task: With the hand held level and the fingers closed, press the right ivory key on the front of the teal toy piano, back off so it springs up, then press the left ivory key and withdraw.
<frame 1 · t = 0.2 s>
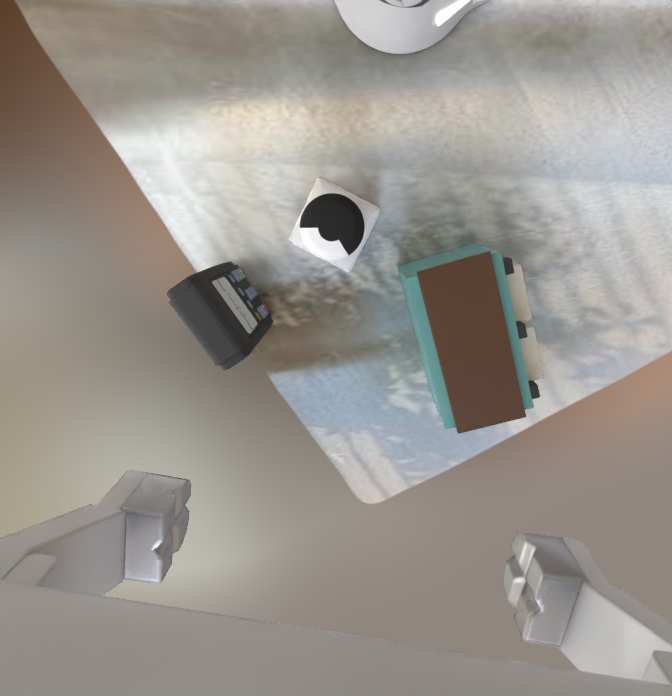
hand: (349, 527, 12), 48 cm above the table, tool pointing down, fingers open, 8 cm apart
medicine bottle: (337, 223, 57), on the table
card reader: (245, 297, 60), on the table
toy piano: (450, 319, 59), on the table
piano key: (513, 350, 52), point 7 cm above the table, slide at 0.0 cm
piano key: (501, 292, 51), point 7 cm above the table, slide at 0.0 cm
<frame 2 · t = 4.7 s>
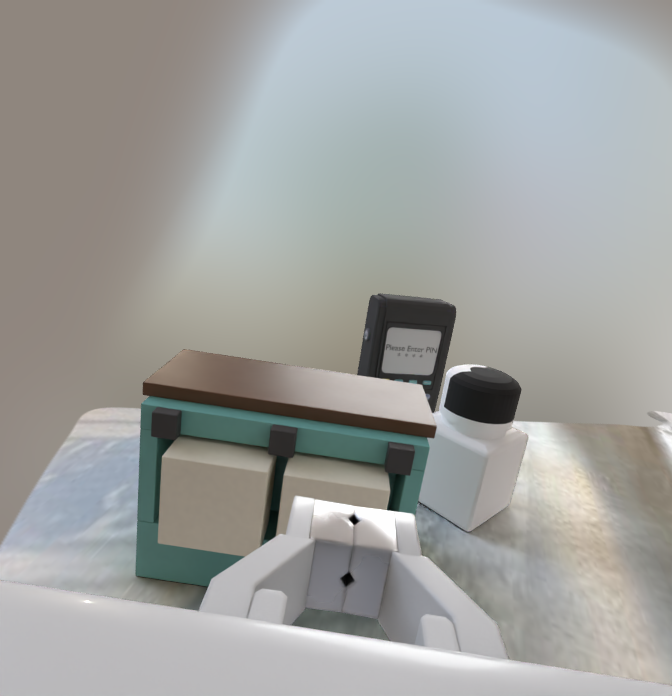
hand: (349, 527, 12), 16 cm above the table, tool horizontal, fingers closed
medicine bottle: (454, 500, 44), on the table
card reader: (389, 428, 57), on the table
toy piano: (275, 547, 35), on the table
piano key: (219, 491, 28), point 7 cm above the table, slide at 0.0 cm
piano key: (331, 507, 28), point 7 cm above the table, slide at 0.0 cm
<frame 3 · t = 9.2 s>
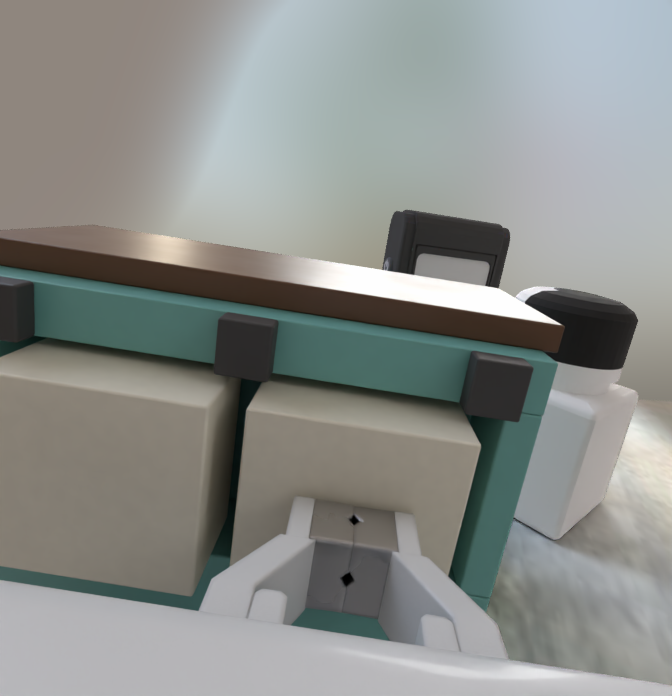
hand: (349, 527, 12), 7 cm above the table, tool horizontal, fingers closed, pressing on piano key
medicine bottle: (521, 492, 30), on the table
card reader: (414, 398, 42), on the table
toy piano: (247, 564, 20), on the table
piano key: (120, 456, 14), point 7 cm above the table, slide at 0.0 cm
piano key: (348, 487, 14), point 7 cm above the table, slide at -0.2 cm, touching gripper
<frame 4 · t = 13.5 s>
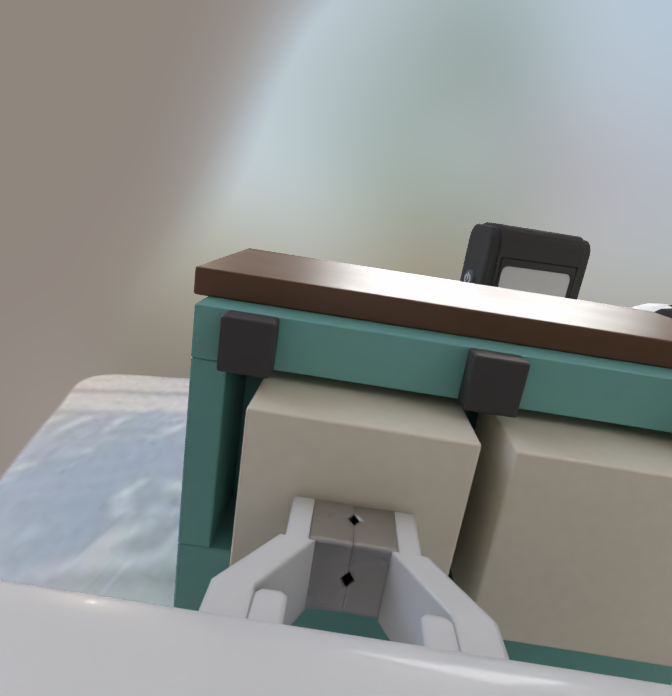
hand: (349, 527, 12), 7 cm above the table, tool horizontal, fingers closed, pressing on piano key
medicine bottle: (624, 506, 30), on the table
card reader: (487, 408, 43), on the table
toy piano: (401, 584, 20), on the table
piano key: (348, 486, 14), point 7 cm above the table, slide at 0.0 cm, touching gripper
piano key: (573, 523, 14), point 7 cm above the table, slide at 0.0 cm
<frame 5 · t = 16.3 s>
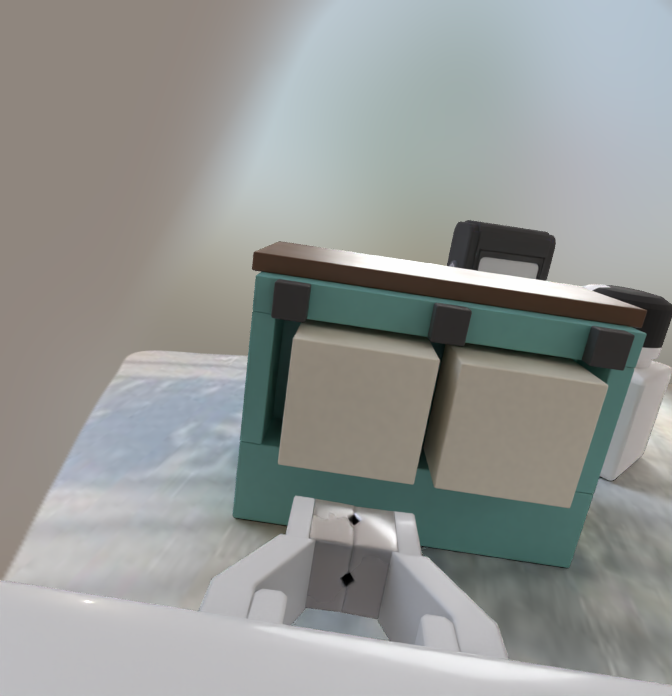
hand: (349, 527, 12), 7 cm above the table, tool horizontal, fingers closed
medicine bottle: (576, 449, 37), on the table
card reader: (470, 380, 50), on the table
toy piano: (394, 490, 27), on the table
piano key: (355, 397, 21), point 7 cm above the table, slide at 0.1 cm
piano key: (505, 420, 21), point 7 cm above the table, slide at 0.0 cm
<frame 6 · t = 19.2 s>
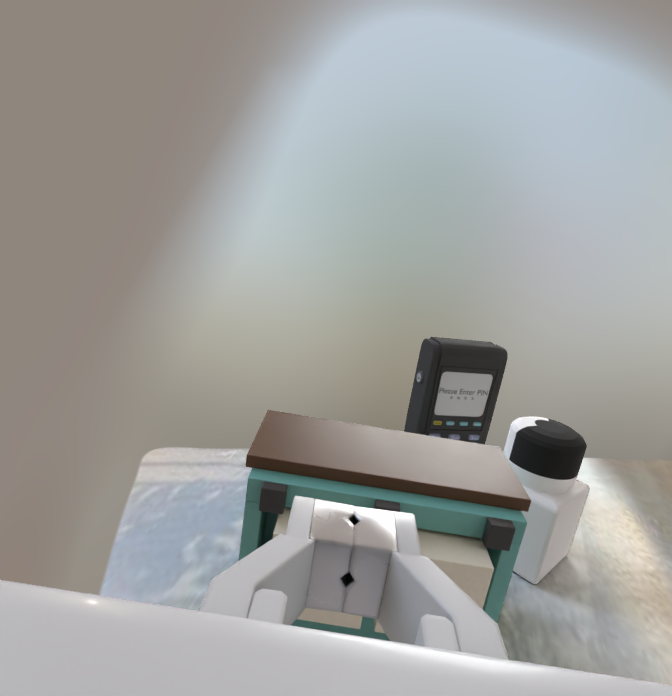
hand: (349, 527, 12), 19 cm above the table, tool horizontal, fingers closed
medicine bottle: (514, 548, 45), on the table
card reader: (436, 466, 57), on the table
toy piano: (355, 603, 35), on the table
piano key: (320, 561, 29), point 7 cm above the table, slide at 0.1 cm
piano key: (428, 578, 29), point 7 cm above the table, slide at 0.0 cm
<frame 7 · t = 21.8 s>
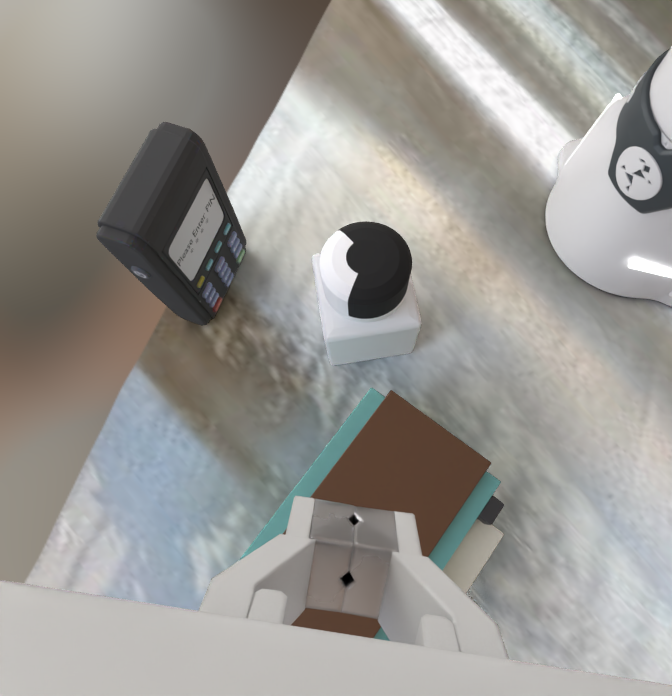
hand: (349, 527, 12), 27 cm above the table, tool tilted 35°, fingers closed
medicine bottle: (364, 322, 43), on the table
card reader: (215, 283, 45), on the table
toy piano: (353, 535, 38), on the table
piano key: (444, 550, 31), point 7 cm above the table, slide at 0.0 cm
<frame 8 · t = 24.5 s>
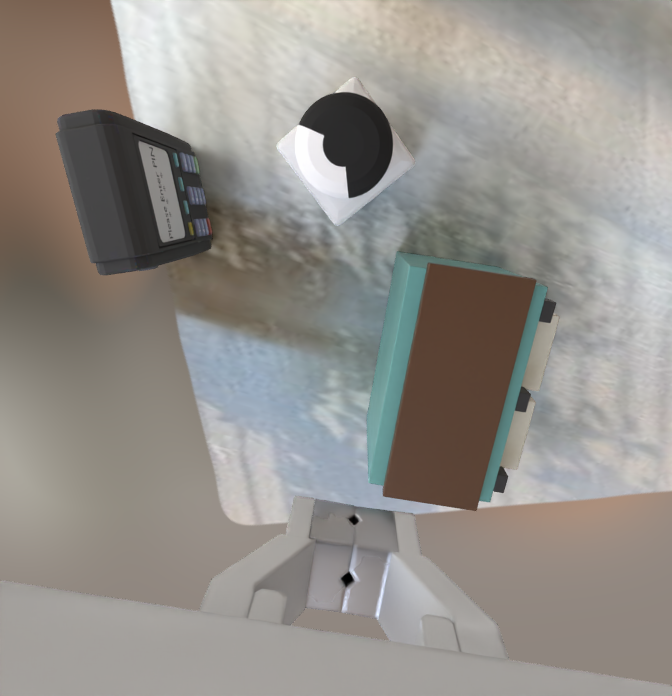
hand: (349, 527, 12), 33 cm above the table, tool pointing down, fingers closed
medicine bottle: (348, 163, 41), on the table
card reader: (188, 201, 43), on the table
toy piano: (429, 346, 45), on the table
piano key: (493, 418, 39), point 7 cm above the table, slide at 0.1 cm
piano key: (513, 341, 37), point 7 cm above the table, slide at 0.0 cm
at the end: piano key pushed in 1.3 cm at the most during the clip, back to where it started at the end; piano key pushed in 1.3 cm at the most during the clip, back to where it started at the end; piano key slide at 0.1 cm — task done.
